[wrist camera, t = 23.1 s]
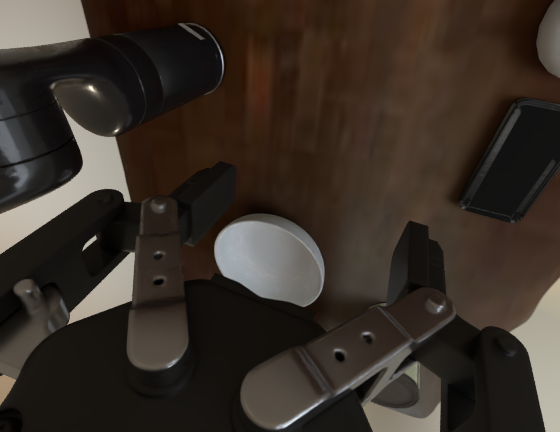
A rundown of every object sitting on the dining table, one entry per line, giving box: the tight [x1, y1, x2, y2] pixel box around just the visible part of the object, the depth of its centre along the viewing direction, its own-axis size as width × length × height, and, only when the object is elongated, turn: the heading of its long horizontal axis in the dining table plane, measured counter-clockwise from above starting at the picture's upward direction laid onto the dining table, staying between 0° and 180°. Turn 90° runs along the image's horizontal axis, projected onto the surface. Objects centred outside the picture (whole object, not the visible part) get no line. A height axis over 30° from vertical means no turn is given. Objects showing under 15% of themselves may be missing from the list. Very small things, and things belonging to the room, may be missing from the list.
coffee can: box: [369, 303, 420, 409], centre depth 57 cm, size 10×10×14 cm
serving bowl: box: [214, 214, 324, 307], centre depth 59 cm, size 21×21×7 cm
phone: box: [459, 98, 560, 223], centre depth 39 cm, size 8×1×15 cm
